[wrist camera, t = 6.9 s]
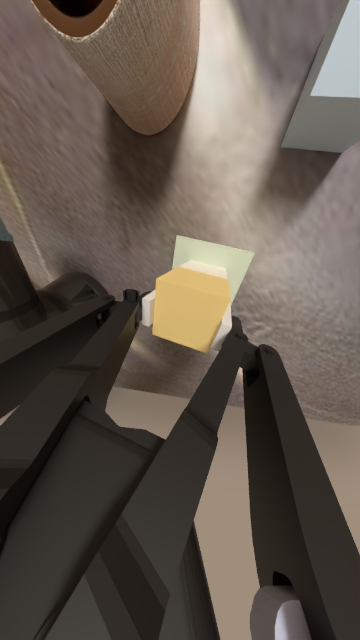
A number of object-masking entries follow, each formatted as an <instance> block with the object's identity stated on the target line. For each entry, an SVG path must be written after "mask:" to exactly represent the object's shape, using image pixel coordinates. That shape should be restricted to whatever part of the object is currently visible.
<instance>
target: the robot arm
mask: <svg viewBox="0 0 360 640" xmlns="http://www.w3.org/2000/svg"><path fill="white" fill-rule="evenodd" d="M13 241H14V240H13V237H12V235H11V234H10V233H8V231H7V229H6V227H5V225H4V223H3V222H2V220H1V218H0V419H1V418H2V417H3V416H5V415H6V414H7V413H9V412H10V411H12V410H13V409H14V408H16V407H17V406H19V405H20V406H19V407H18V408H17V409H16V410H15V411H14V412H13V413H12V414H11V415H10V416H9V417H8V418H7V419H6V421H5V422H4V423H3V424H2V425H1V426H0V640H220V636H219V632H218V627H217V623H216V618H215V614H214V609H213V605H212V601H211V596H210V592H209V587H208V583H207V578H206V574H205V569H204V565H203V561H202V556H201V551H200V547H199V542H198V538H197V533H196V529H195V524H194V517H195V514H196V511H197V507H198V504H199V501H200V498H201V495H202V492H203V488H204V485H205V482H206V479H207V476H208V472H209V469H210V466H211V463H212V460H213V456H214V453H215V450H216V446H217V442H218V437H217V432H218V428H219V426H220V423H221V420H222V417H223V414H224V411H225V408H226V405H227V402H228V399H229V396H230V393H231V390H232V387H233V384H234V381H235V378H236V375H237V372H238V369H239V366H240V367H241V368H243V388H244V406H245V424H246V441H247V442H246V443H247V460H248V478H249V495H250V514H251V527H252V538H253V546H254V552H255V560H256V566H257V574H258V579H259V584H260V588H259V590H258V591H257V593H256V594H255V597H254V601H253V605H252V610H251V613H250V630H251V636H252V640H360V555H359V552H358V550H357V547H356V545H355V542H354V540H353V537H352V535H351V532H350V530H349V527H348V525H347V522H346V520H345V517H344V515H343V512H342V510H341V507H340V505H339V502H338V500H337V497H336V495H335V492H334V490H333V487H332V485H331V482H330V480H329V477H328V475H327V473H326V470H325V468H324V465H323V463H322V460H321V458H320V455H319V453H318V450H317V448H316V445H315V443H314V440H313V438H312V435H311V433H310V430H309V428H308V425H307V423H306V420H305V418H304V415H303V413H302V410H301V408H300V405H299V403H298V400H297V398H296V395H295V393H294V390H293V388H292V385H291V383H290V380H289V378H288V375H287V373H286V370H285V368H284V365H283V363H282V360H281V358H280V355H279V354H278V352H277V351H276V350H275V349H274V348H272V347H271V346H268V345H265V344H261V345H259V347H257V346H255V345H253V344H251V343H249V342H248V337H247V336H246V335H245V334H244V333H243V330H242V325H241V321H240V319H239V318H238V317H235V316H231V307H230V303H229V305H228V307H227V310H226V312H225V314H224V316H223V318H222V320H221V322H220V324H219V326H218V329H217V331H216V333H215V335H214V338H213V340H212V344H211V349H214V350H217V351H219V353H218V355H217V357H216V358H215V360H214V362H213V363H212V365H211V367H210V368H209V370H208V372H207V373H206V375H205V377H204V378H203V380H202V382H201V383H200V385H199V387H198V388H197V390H196V392H195V393H194V395H193V397H192V399H191V400H190V402H189V404H188V405H187V407H186V408H185V409H184V411H183V412H182V414H181V416H180V417H179V419H178V421H177V422H176V424H175V426H174V427H173V429H172V430H171V432H170V434H169V436H168V437H167V439H166V440H165V439H163V438H161V437H159V436H157V435H155V434H153V433H150V432H149V431H147V430H143V429H134V428H125V427H119V426H118V425H117V424H116V423H115V422H114V421H113V420H112V419H111V418H110V416H109V415H108V414H106V412H105V408H106V403H107V398H108V395H109V393H110V391H111V388H112V386H113V384H114V382H115V379H116V377H117V375H118V373H119V370H120V368H121V366H122V363H123V361H124V359H125V357H126V354H127V352H128V350H129V348H130V345H131V343H132V341H133V338H134V336H135V334H136V332H137V329H138V327H139V321H140V320H142V324H143V325H146V326H148V327H149V326H150V325H151V324H152V323H153V320H154V305H155V290H154V291H153V292H151V291H148V292H145V293H143V294H142V295H141V296H139V292H138V291H137V290H134V289H127V290H124V291H123V297H124V300H123V301H122V302H120V301H115V297H114V296H112V295H109V294H108V293H107V292H106V290H105V289H104V288H103V287H102V285H101V284H100V283H99V282H97V281H96V280H95V279H94V278H92V277H91V276H89V275H87V274H84V273H80V272H74V273H69V274H65V275H63V276H61V277H59V278H58V279H56V280H55V281H53V282H51V283H50V284H48V285H47V286H45V287H44V288H42V289H39V290H35V288H34V286H33V284H32V282H31V279H30V277H29V275H28V273H27V271H26V269H25V266H24V264H23V262H22V260H21V258H20V256H19V254H18V251H17V249H16V247H15V245H14V243H13ZM221 347H222V348H221ZM220 349H221V350H220ZM69 363H70V364H69ZM68 364H69V365H68ZM67 365H68V366H67Z"/></svg>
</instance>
